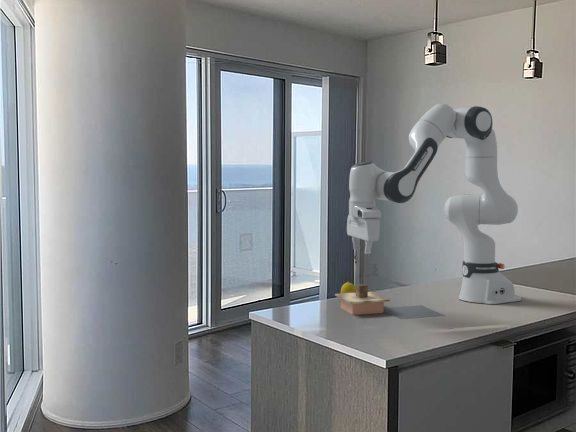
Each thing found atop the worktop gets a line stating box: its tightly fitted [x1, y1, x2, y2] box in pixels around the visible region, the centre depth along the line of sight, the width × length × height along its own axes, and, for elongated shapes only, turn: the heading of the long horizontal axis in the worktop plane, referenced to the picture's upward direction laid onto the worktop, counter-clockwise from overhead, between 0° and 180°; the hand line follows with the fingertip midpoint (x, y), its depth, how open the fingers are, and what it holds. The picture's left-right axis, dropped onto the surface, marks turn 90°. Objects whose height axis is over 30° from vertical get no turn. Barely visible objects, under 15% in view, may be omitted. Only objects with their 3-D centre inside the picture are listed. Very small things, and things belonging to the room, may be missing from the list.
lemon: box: [340, 281, 356, 293], centre depth 226 cm, size 6×6×8 cm
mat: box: [383, 304, 446, 320], centre depth 209 cm, size 16×16×1 cm
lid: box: [334, 283, 390, 304], centre depth 211 cm, size 14×14×5 cm
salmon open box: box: [340, 299, 385, 316], centre depth 211 cm, size 11×11×5 cm
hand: (362, 251), depth 210 cm, fingers open, 8 cm apart
